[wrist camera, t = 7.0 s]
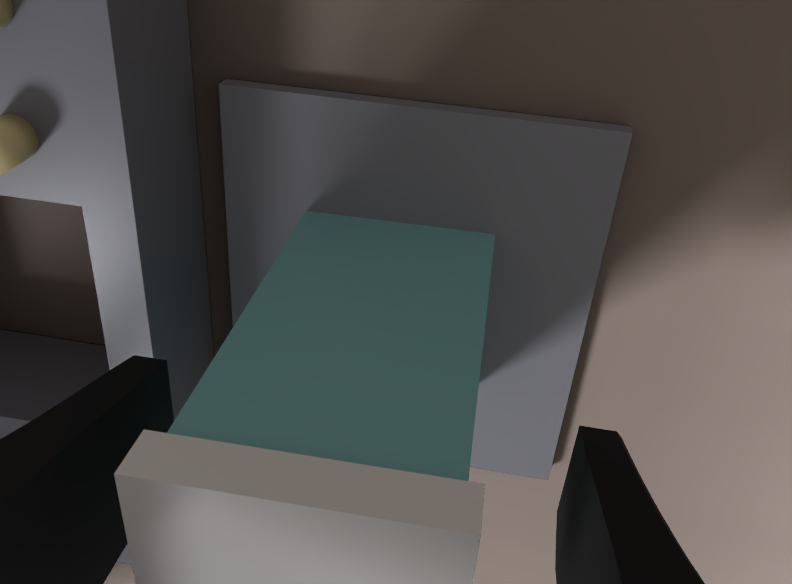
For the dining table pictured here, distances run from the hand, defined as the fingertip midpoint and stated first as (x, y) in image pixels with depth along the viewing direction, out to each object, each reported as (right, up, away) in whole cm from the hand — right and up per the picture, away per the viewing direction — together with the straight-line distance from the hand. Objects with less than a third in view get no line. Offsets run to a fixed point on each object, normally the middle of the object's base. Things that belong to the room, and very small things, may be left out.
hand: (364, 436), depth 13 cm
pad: (+1, +2, +4) cm, 5 cm away
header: (-8, +4, +5) cm, 10 cm away
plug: (+1, +2, +4) cm, 4 cm away
